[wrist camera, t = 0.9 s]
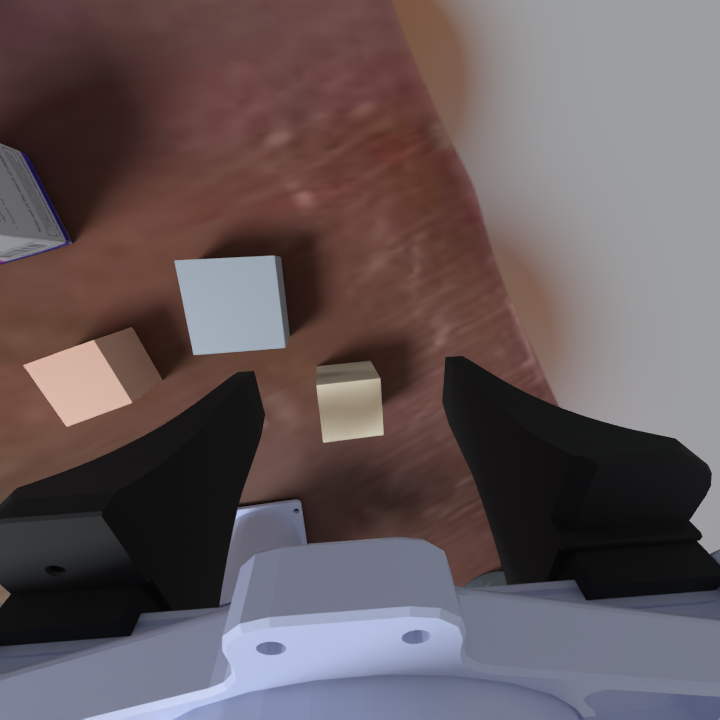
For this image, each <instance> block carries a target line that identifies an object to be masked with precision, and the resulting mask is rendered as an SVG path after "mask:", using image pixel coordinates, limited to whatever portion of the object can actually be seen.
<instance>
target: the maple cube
mask: <svg viewBox="0 0 720 720" xmlns="http://www.w3.org/2000/svg"><path fill="white" fill-rule="evenodd" d="M317 394H318V402H319V411H320V420H321V428H322V437H323V443H325V442H332V441H340V440H348V439H356V438H364V437H371V436H379V435H384V433H383V415H382V397H381V379H380V376H379V375H378V373H377V371H376V369H375V368H374V366H373V364H372V362H371V361H363V362H354V363H344V364H334V365H325V366H317Z"/></svg>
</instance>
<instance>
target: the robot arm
mask: <svg viewBox="0 0 720 720" xmlns="http://www.w3.org/2000/svg"><path fill="white" fill-rule="evenodd" d="M442 402H443V406H444V409H445V413H446V416H447V419H448V422H449V425H450V427H451V430H452V432H453V434H454V436H455V438H456V440H457V443H458V445H459V447H460V449H461V451H462V453H463V455H464V458H465V460H466V462H467V464H468V466H469V468H470V470H471V473H472V475H473V477H474V480H475V482H476V485H477V488H478V491H479V494H480V497H481V500H482V503H483V506H484V509H485V512H486V515H487V518H488V521H489V524H490V528H491V531H492V534H493V537H494V541H495V544H496V547H497V551H498V554H499V558H500V561H501V565H502V568H503V572H504V575H505V579H506V583H507V585H501V586H489V587H476V588H465V587H457V586H455V585H454V582H453V578H452V574H451V571H450V567H449V564H448V561H447V558H446V555H445V552H444V551H443V550H441V549H439V548H438V547H436V546H434V545H432V544H430V543H429V542H427V541H425V540H423V539H418V538H406V537H390V538H377V539H363V540H350V541H337V542H324V543H311V544H307V539H306V532H305V525H304V518H303V511H302V504H301V501H300V500H298V499H294V500H287V501H280V502H273V503H266V504H259V505H252V506H245V507H238V505H239V501H240V498H241V494H242V491H243V488H244V485H245V482H246V479H247V476H248V473H249V470H250V468H251V465H252V462H253V459H254V456H255V453H256V450H257V447H258V444H259V441H260V438H261V434H262V429H263V423H264V417H265V413H264V409H263V405H262V401H261V397H260V393H259V389H258V385H257V381H256V377H255V373H254V371H248V372H237V373H236V374H234V375H233V376H231V377H230V378H228V379H227V380H226V381H224V382H223V383H222V384H221V385H219V386H218V387H217V388H215V389H214V390H213V391H211V392H210V393H209V394H207V395H206V396H205V397H204V398H202V399H201V400H200V401H198V402H197V403H195V404H194V405H192V406H191V407H190V408H188V409H187V410H185V411H184V412H182V413H181V414H180V415H178V416H177V417H175V418H174V419H172V420H170V421H169V422H167V423H166V424H164V425H162V426H161V427H159V428H157V429H155V430H154V431H152V432H150V433H148V434H147V435H145V436H143V437H141V438H139V439H137V440H135V441H133V442H131V443H129V444H127V445H125V446H123V447H121V448H119V449H117V450H115V451H113V452H111V453H108V454H106V455H104V456H101V457H99V458H97V459H95V460H92V461H90V462H87V463H85V464H82V465H80V466H78V467H75V468H72V469H70V470H67V471H65V472H62V473H59V474H56V475H53V476H51V477H48V478H45V479H42V480H39V481H36V482H34V483H31V484H28V485H25V486H22V487H19V488H17V489H16V490H14V491H13V492H12V493H11V494H10V495H9V496H8V497H7V498H6V499H5V500H4V501H3V502H2V503H1V504H0V584H1V585H2V586H3V587H4V588H5V589H6V590H7V591H8V592H10V593H12V594H11V595H10V596H9V597H8V599H7V600H6V601H5V602H4V604H3V605H2V606H1V607H0V720H720V550H717V551H715V552H713V553H711V554H709V553H708V552H707V551H706V550H705V549H704V548H703V547H702V546H701V545H700V544H699V543H698V542H697V540H700V539H701V538H702V534H701V532H700V531H699V530H698V529H697V528H696V527H695V526H694V525H693V524H692V523H691V522H690V521H689V520H690V518H691V517H692V516H693V514H694V512H695V511H696V509H697V508H698V507H699V505H700V504H701V502H702V501H703V499H704V498H705V496H706V494H707V492H708V490H709V488H710V486H711V475H712V473H711V471H710V468H709V467H708V465H707V464H706V463H705V462H704V461H702V460H701V459H700V458H699V457H697V456H696V455H695V454H694V453H692V452H691V451H690V450H689V449H688V448H686V447H685V446H684V445H683V444H681V443H680V442H679V441H678V440H676V439H675V438H670V437H665V436H660V435H655V434H651V433H646V432H641V431H636V430H632V429H628V428H624V427H620V426H616V425H612V424H609V423H605V422H601V421H598V420H595V419H591V418H588V417H585V416H582V415H579V414H576V413H574V412H571V411H568V410H565V409H562V408H560V407H557V406H554V405H552V404H550V403H547V402H545V401H543V400H540V399H538V398H536V397H534V396H532V395H529V394H527V393H525V392H523V391H522V390H520V389H518V388H516V387H514V386H512V385H510V384H508V383H507V382H505V381H503V380H501V379H500V378H498V377H496V376H495V375H493V374H491V373H490V372H488V371H486V370H485V369H483V368H482V367H480V366H478V365H477V364H475V363H473V362H472V361H470V360H468V359H467V358H465V357H463V356H455V357H446V360H445V373H444V386H443V399H442ZM294 509H299V510H294Z"/></svg>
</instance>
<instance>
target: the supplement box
mask: <svg viewBox="0 0 720 720" xmlns="http://www.w3.org/2000/svg"><path fill="white" fill-rule="evenodd" d="M70 244H72V241H71V239H70V237H69V235H68V233H67V231H66V229H65V227H64V225H63V223H62V221H61V220H60V218H59V215H58V213H57V212H56V210H55V208H54V206H53V204H52V202H51V200H50V198H49V196H48V194H47V192H46V190H45V188H44V186H43V184H42V182H41V180H40V178H39V176H38V174H37V172H36V170H35V168H34V166H33V164H32V163H31V161H30V159H29V157H28V156H27V155H26V154H25V153H23V152H21V151H18V150H16V149H13V148H11V147H8V146H5V145H3V144H0V264H3V263H7V262H11V261H15V260H18V259H22V258H25V257H29V256H32V255H36V254H40V253H43V252H46V251H50V250H53V249H56V248H59V247H63V246H66V245H70Z"/></svg>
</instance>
